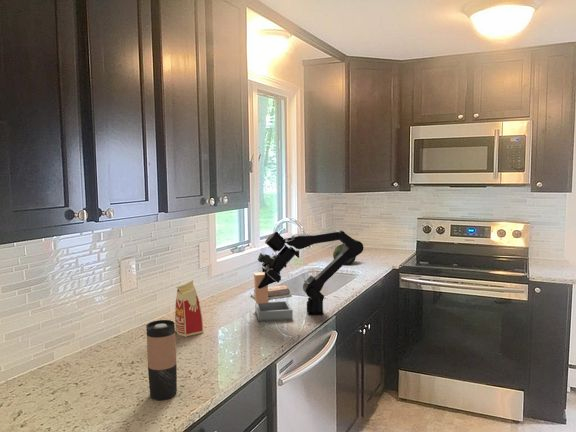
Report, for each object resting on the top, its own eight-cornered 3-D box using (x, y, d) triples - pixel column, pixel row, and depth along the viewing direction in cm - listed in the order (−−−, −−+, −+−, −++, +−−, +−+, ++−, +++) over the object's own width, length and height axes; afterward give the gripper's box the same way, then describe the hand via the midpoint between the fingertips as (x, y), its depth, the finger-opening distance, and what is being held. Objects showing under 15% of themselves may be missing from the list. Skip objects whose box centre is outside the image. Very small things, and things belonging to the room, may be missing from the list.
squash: (332, 252, 318) (334, 238, 306) (354, 253, 317) (357, 239, 306) (333, 270, 308) (335, 255, 297) (355, 270, 308) (358, 256, 297)
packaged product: (283, 283, 239) (291, 287, 230) (283, 292, 239) (291, 297, 230) (250, 287, 231) (256, 291, 222) (250, 296, 232) (257, 301, 223)
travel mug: (180, 388, 134) (178, 319, 132) (173, 401, 126) (170, 328, 124) (154, 388, 134) (151, 319, 132) (145, 401, 127) (141, 328, 125)
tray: (286, 309, 208) (286, 300, 208) (292, 319, 194) (292, 310, 194) (255, 311, 206) (255, 302, 205) (258, 321, 192) (258, 312, 191)
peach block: (266, 299, 201) (265, 271, 200) (268, 302, 196) (267, 274, 195) (255, 300, 200) (253, 272, 199) (256, 303, 195) (255, 275, 194)
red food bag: (194, 326, 188) (192, 277, 186) (204, 332, 180) (203, 281, 178) (172, 331, 182) (170, 280, 180) (182, 337, 175) (180, 284, 173)
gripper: (265, 242, 206) (241, 269, 205) (271, 249, 187) (245, 279, 187) (284, 259, 208) (260, 285, 207) (291, 267, 189) (266, 297, 189)
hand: (257, 286), depth 197 cm, fingers closed on peach block, 5 cm apart
